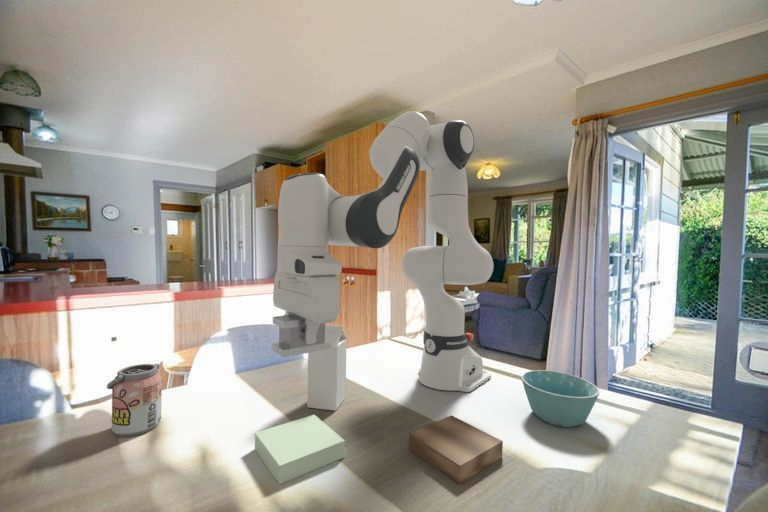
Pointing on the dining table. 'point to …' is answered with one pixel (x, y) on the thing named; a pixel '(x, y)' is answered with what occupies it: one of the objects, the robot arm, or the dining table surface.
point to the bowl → (559, 397)
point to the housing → (297, 336)
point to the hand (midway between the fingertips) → (301, 338)
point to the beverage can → (136, 400)
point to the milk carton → (328, 372)
